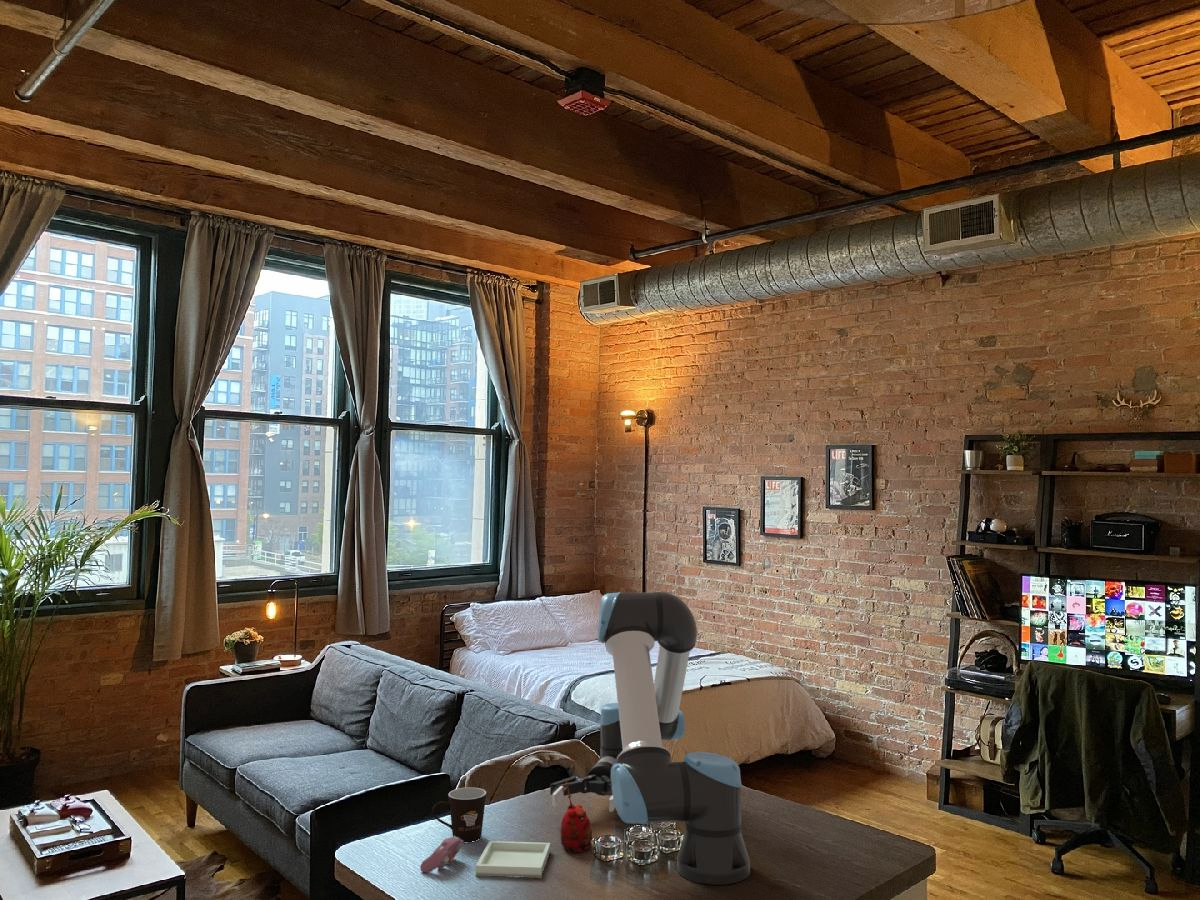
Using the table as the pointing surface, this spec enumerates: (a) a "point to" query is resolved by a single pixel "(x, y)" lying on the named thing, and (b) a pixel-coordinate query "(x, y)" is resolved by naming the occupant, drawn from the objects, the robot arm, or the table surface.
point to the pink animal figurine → (442, 854)
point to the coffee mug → (465, 812)
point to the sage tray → (513, 859)
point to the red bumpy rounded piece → (575, 827)
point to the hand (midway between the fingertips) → (581, 803)
